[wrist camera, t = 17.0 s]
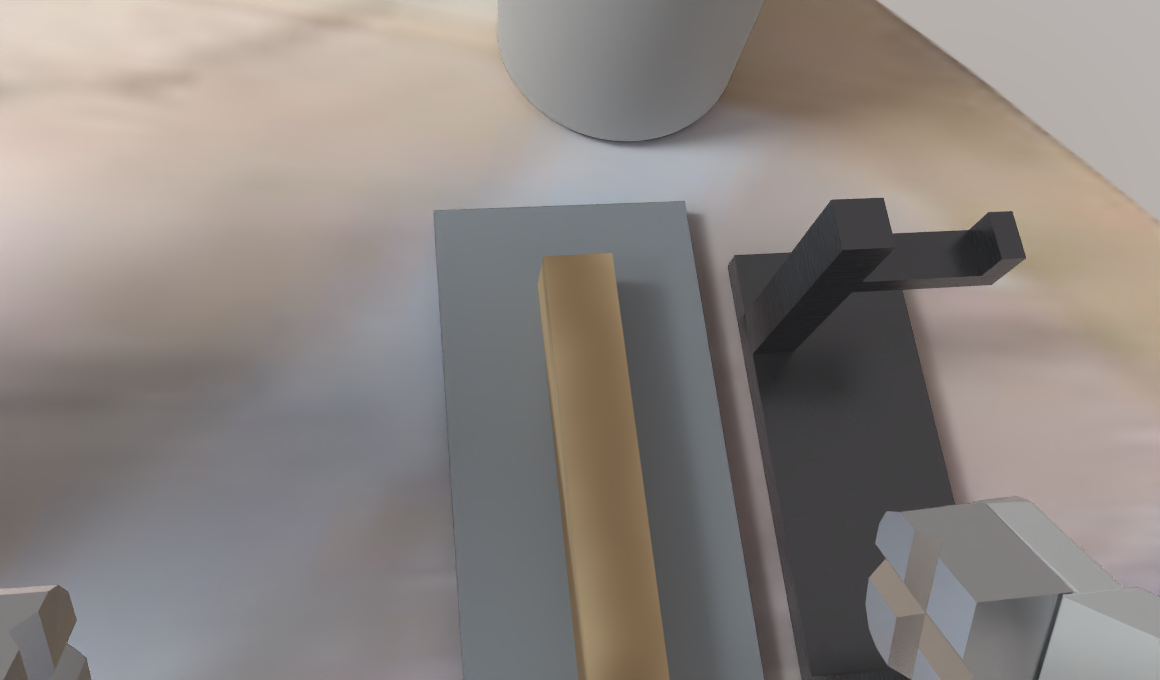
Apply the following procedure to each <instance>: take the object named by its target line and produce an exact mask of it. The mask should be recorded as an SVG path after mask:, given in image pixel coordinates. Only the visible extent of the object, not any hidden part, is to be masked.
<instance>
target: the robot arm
mask: <svg viewBox="0 0 1160 680" xmlns="http://www.w3.org/2000/svg"><path fill="white" fill-rule="evenodd" d="M875 544H876V545H877V547H878V548H879V550H880V551H881V553H882V554H883V556H884V557H885V560H884V561H883V562H882V563H881V565H880V566H879V567H878V568H877V569H876V570H875V571H874V572H873V573H872V575H871V576H870V577H869V581H868V588H867V595H866V602H865V604H866V611H867V618H868V625H869V630H870V633H871V635H872V638H873V641H874V643H875V646H876V648H877V650H878V651H879V653H880V654H881V656H882V658H883V659H884V661H885V663H886V664H887V666H889V667H891V668H892V669H894V670H896V671H898V672H899V673H901V674H903V675H904V676H906V677H908V678H909V679H911V680H1160V596H1158V595H1155V594H1153V593H1151V592H1148V591H1146V590H1143V589H1141V588H1139V587H1132V588H1123V587H1122V586H1121V585H1120V584H1119V583H1118V582H1117V581H1116V580H1114V579H1113V578H1112V577H1111V576H1110V575H1109V574H1108V573H1107V572H1106V571H1105V570H1104V569H1103V568H1102V567H1100V566H1099V565H1098V564H1097V563H1096V562H1095V561H1094V560H1093V559H1092V558H1091V557H1090V556H1089V555H1088V554H1086V553H1085V552H1084V551H1083V550H1082V549H1081V548H1080V547H1079V546H1078V545H1077V544H1076V543H1075V542H1074V541H1073V540H1071V539H1070V538H1069V537H1068V536H1067V535H1066V534H1065V533H1064V532H1063V531H1062V530H1061V529H1060V528H1059V527H1057V526H1056V525H1055V524H1054V523H1053V522H1052V521H1051V520H1050V519H1049V518H1048V517H1047V516H1046V515H1045V514H1044V513H1042V512H1041V511H1040V510H1039V509H1038V508H1037V507H1036V506H1035V505H1034V504H1033V503H1032V502H1030V501H1028V500H1026V499H1023V498H1020V497H1018V496H1014V497H1005V498H997V499H989V500H980V501H974V502H973V503H968V504H957V505H947V506H936V507H926V508H915V509H905V510H894V511H886V513H885V515H884V516H883V518H882V520H881V521H880V523H879V527H878V532H877V537H876V542H875ZM75 623H76V616H75V613H74V609H73V606H72V603H71V599H70V596H69V593H68V591H66V590H65V589H64V588H62V587H61V586H59V585H48V586H34V587H20V588H5V589H0V680H91V676H90V672H89V668H88V663H87V659H86V657H85V656H84V655H82V654H81V653H80V652H78V651H77V650H76V649H74V648H73V647H72V646H70V645H69V644H68V643H67V641H68V639H69V636H70V634H71V632H72V630H73V627H74V625H75Z"/></svg>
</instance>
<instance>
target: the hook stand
mask: <svg viewBox="0 0 1160 680" xmlns="http://www.w3.org/2000/svg"><path fill="white" fill-rule="evenodd" d="M1024 259H1026V256H1025V252H1024V249H1023V246H1022V242H1021V239H1020V236H1019V232H1018V229H1017V226H1016V222H1015V219H1014V216H1013V212H1012V211H1009V212H988V213H987V214H986V215H985V216H984V217H983V218H982V219H981V220H980V221H978V222H977V223H976V224H975V225H974V226H973V227H972V228H971V229H970V230H963V231H941V232H918V233H896V234H892V230H891V226H890V222H889V218H888V214H887V210H886V206H885V202H884V198H866V199H840V200H831V201H830V202H829V204H828V205H827V206H826V208H825V209H824V210H823V212H822V213H821V214H820V215H819V217H818V218H817V219H816V221H815V222H814V223H813V225H812V226H811V227H810V229H809V230H808V231H807V233H806V234H805V235H804V237H803V238H802V239H801V241H800V242H799V243H798V245H797V246H796V247H795V249H794V250H793V251H792V252H791V253H774V254H753V255H734V257H733V259H732V260H731V262H730V263H729V265H728V270H729V276H730V281H731V287H732V292H733V298H734V304H735V309H736V315H737V320H738V326H739V332H740V337H741V343H742V348H743V354H744V359H745V365H746V371H747V376H748V382H749V387H750V393H751V398H752V404H753V410H754V415H755V421H756V426H757V432H758V438H759V443H760V449H761V454H762V460H763V465H764V471H765V477H766V482H767V488H768V493H769V499H770V504H771V510H772V516H773V521H774V527H775V532H776V538H777V544H778V549H779V555H780V560H781V566H782V571H783V577H784V583H785V588H786V594H787V599H788V605H789V610H790V616H791V622H792V627H793V633H794V638H795V644H796V650H797V655H798V661H799V666H800V672H801V677H802V680H911V679H909V678H908V677H906V676H904V675H903V674H901V673H899V672H898V671H896V670H894V669H892V668H891V667H889V666H887V664H886V663H885V661H884V659H883V658H882V656H881V654H880V653H879V651H878V650H877V648H876V646H875V643H874V641H873V638H872V635H871V633H870V630H869V625H868V618H867V611H866V604H865V602H866V595H867V588H868V581H869V577H870V576H871V575H872V573H873V572H874V571H875V570H876V569H877V568H878V567H879V566H880V565H881V563H882V562H883V561H884V560H885V557H884V556H883V554H882V553H881V551H880V550H879V548H878V547H877V545H876V544H875V542H876V537H877V532H878V527H879V523H880V521H881V520H882V518H883V516H884V515H885V513H886V511H894V510H905V509H915V508H926V507H936V506H947V505H955V503H954V499H953V495H952V491H951V487H950V483H949V479H948V474H947V470H946V466H945V462H944V458H943V454H942V450H941V446H940V442H939V438H938V434H937V430H936V426H935V422H934V418H933V413H932V409H931V405H930V401H929V397H928V393H927V389H926V385H925V381H924V377H923V373H922V369H921V365H920V361H919V357H918V353H917V348H916V344H915V340H914V336H913V332H912V328H911V324H910V320H909V316H908V312H907V308H906V304H905V300H904V296H903V292H902V290H906V289H924V288H943V287H961V286H979V285H992V284H993V283H995V282H996V281H997V280H998V279H1000V278H1001V277H1002V276H1004V275H1005V274H1006V273H1007V272H1009V271H1010V270H1011V269H1013V268H1014V267H1015V266H1017V265H1018V264H1019V263H1020V262H1022V261H1023V260H1024Z"/></svg>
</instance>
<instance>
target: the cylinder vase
mask: <svg viewBox="0 0 1160 680" xmlns="http://www.w3.org/2000/svg"><path fill="white" fill-rule="evenodd" d="M764 1H765V0H498V14H497V39H498V45H499V50H500V54H501V57H502V60H503V63H504V65H505V67H506V70H507V72H508V74H509V75H510V77H511V79H512V80H513V82H514V84H515V85H516V86H517V88H518V89H519V90H520V92H521V93H522V94H523V95H524V96H525V97H526V99H527V100H528V101H529V102H530V103H531V104H533V105H534V106H535V107H536V108H537V109H538V110H539V111H541V112H542V113H543V114H545V115H546V116H547V117H549V118H550V119H552V120H554V121H555V122H557V123H559V124H561V125H563V126H565V127H567V128H569V129H571V130H573V131H576V132H579V133H581V134H584V135H588V136H591V137H595V138H600V139H605V140H613V141H642V140H649V139H654V138H659V137H662V136H666V135H669V134H672V133H674V132H677V131H679V130H681V129H683V128H685V127H687V126H689V125H690V124H692V123H694V122H695V121H697V120H698V119H699V118H701V117H702V116H703V115H704V114H705V113H706V112H708V111H709V110H710V109H711V108H712V106H713V105H714V104H715V103H716V102H717V100H718V99H719V98H720V96H721V95H722V93H723V92H724V90H725V88H726V86H727V84H728V82H729V80H730V78H731V75H732V73H733V71H734V69H735V66H736V64H737V62H738V60H739V57H740V55H741V53H742V51H743V48H744V46H745V44H746V42H747V39H748V37H749V35H750V33H751V31H752V28H753V26H754V24H755V22H756V19H757V17H758V15H759V13H760V10H761V8H762V6H763V4H764Z"/></svg>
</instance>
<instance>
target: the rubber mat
mask: <svg viewBox="0 0 1160 680" xmlns="http://www.w3.org/2000/svg"><path fill="white" fill-rule="evenodd" d="M434 227H435V243H436V258H437V274H438V290H439V305H440V321H441V336H442V352H443V368H444V383H445V399H446V414H447V430H448V446H449V461H450V477H451V492H452V508H453V524H454V539H455V555H456V571H457V586H458V602H459V617H460V633H461V649H462V664H463V680H578V671H577V661H576V651H575V642H574V632H573V623H572V613H571V603H570V594H569V584H568V574H567V565H566V555H565V545H564V536H563V526H562V516H561V507H560V497H559V487H558V478H557V468H556V458H555V449H554V439H553V429H552V420H551V410H550V400H549V391H548V381H547V371H546V362H545V352H544V342H543V333H542V323H541V313H540V304H539V294H538V280H539V275H540V270H541V265H542V260H543V256H558V255H579V254H601V253H612V255H613V262H614V270H615V277H616V284H617V292H618V299H619V307H620V314H621V322H622V329H623V336H624V344H625V351H626V359H627V366H628V374H629V381H630V388H631V396H632V403H633V411H634V418H635V426H636V433H637V440H638V448H639V455H640V463H641V470H642V478H643V485H644V492H645V500H646V507H647V515H648V522H649V530H650V537H651V544H652V552H653V559H654V567H655V574H656V582H657V589H658V596H659V604H660V611H661V619H662V626H663V634H664V641H665V648H666V656H667V663H668V671H669V678H670V680H764V675H763V669H762V663H761V657H760V651H759V645H758V639H757V633H756V627H755V621H754V615H753V609H752V603H751V597H750V591H749V585H748V579H747V573H746V567H745V561H744V555H743V549H742V543H741V537H740V531H739V525H738V519H737V513H736V507H735V501H734V495H733V489H732V483H731V477H730V471H729V465H728V459H727V453H726V447H725V441H724V435H723V429H722V423H721V417H720V411H719V405H718V399H717V393H716V387H715V381H714V375H713V369H712V363H711V357H710V351H709V345H708V339H707V333H706V327H705V321H704V315H703V309H702V303H701V297H700V291H699V285H698V279H697V273H696V267H695V261H694V255H693V249H692V243H691V237H690V231H689V225H688V219H687V213H686V207H685V201H675V202H648V203H621V204H595V205H568V206H541V207H514V208H488V209H461V210H434Z"/></svg>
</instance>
